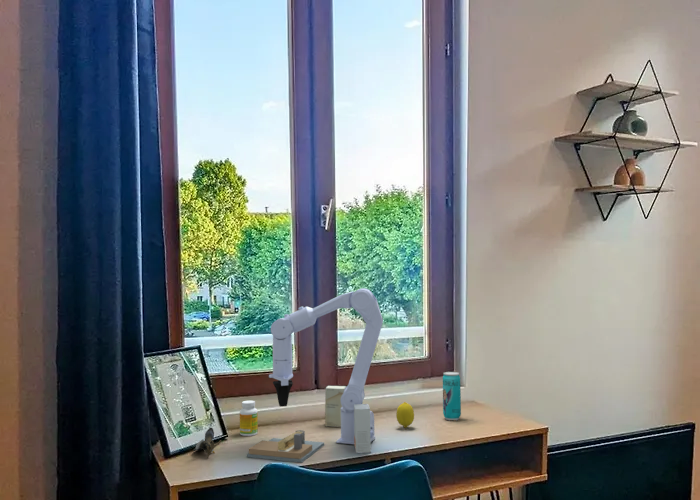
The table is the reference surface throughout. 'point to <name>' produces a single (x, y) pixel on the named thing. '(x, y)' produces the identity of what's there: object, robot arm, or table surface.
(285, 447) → the swing bar
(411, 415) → the lemon
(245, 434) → the supplement bottle
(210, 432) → the eagle figurine
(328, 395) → the skincare box
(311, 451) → the latch board
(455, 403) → the beverage can
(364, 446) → the skincare box
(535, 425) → the table surface
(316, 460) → the table surface
